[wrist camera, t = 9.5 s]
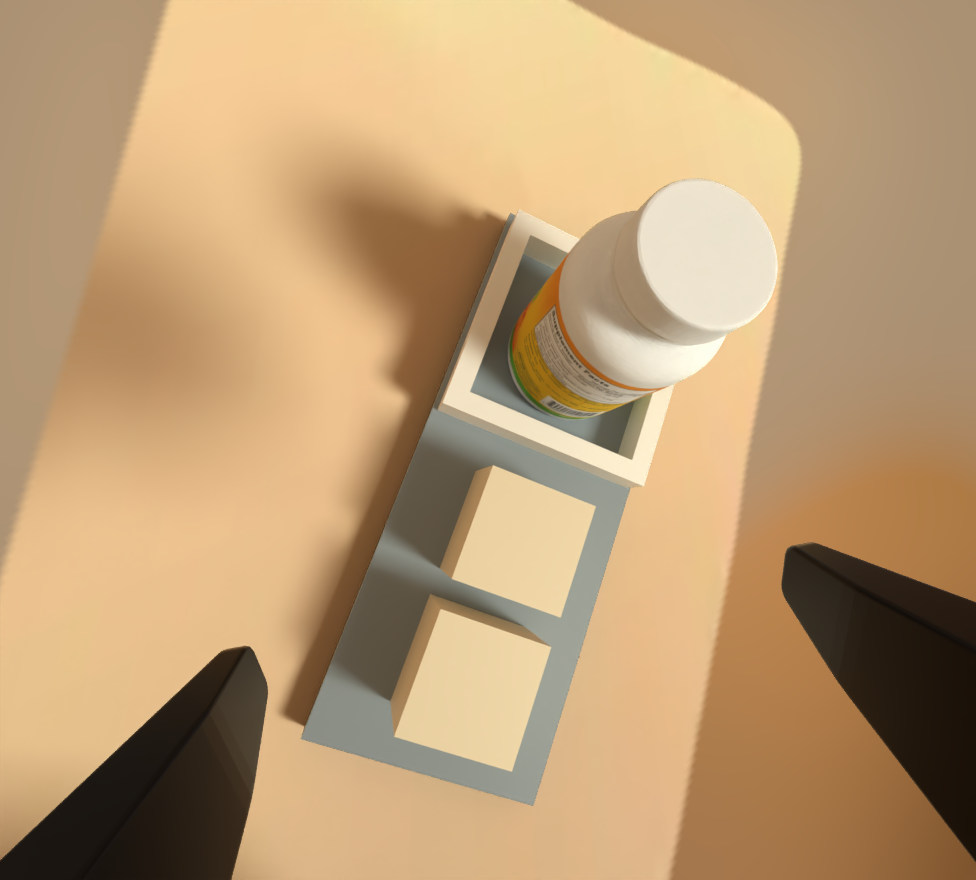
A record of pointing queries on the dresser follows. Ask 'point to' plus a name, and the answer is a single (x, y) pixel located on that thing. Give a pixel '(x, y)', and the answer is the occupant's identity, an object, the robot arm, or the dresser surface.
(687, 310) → the supplement bottle
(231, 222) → the dresser surface
